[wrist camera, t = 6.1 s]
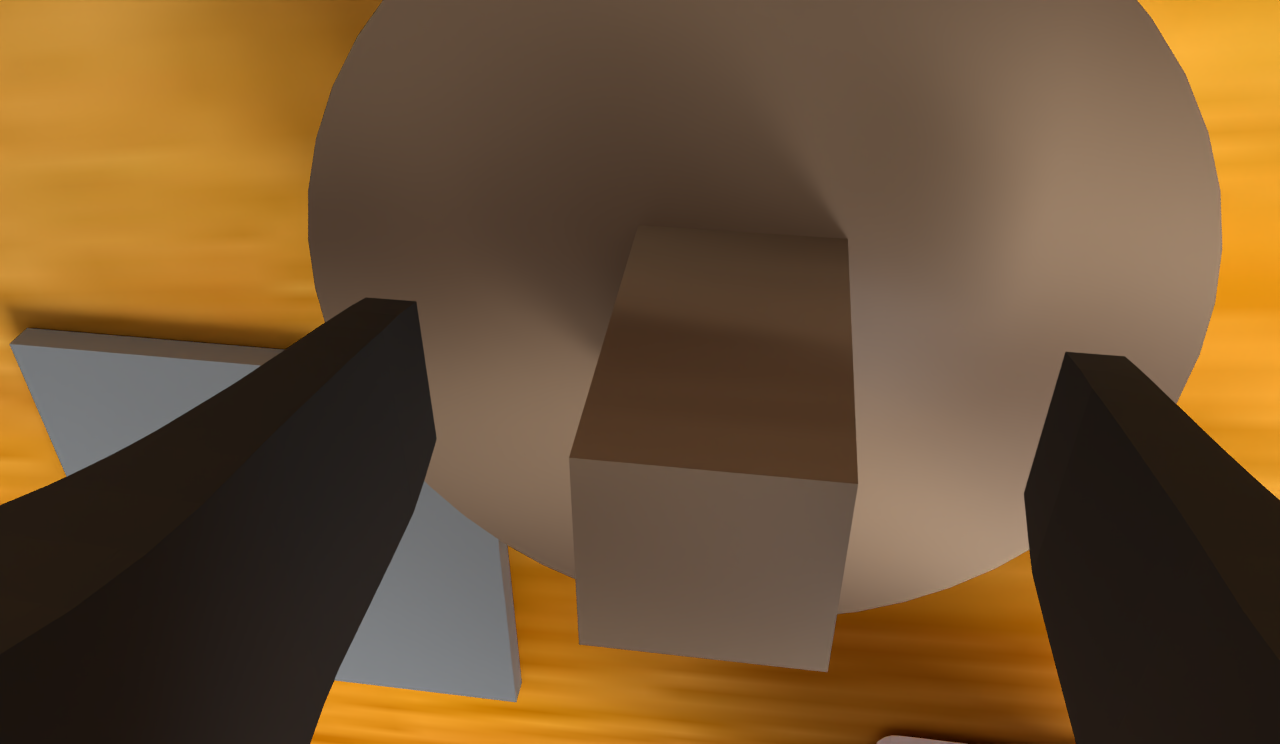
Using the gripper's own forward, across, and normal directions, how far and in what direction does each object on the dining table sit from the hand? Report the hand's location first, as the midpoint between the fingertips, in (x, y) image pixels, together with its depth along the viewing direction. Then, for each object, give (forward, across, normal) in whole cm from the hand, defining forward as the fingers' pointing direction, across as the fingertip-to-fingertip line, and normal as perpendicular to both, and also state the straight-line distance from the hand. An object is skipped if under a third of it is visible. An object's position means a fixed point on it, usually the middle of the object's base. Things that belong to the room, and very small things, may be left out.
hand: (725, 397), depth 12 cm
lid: (+3, 0, 0) cm, 3 cm away
